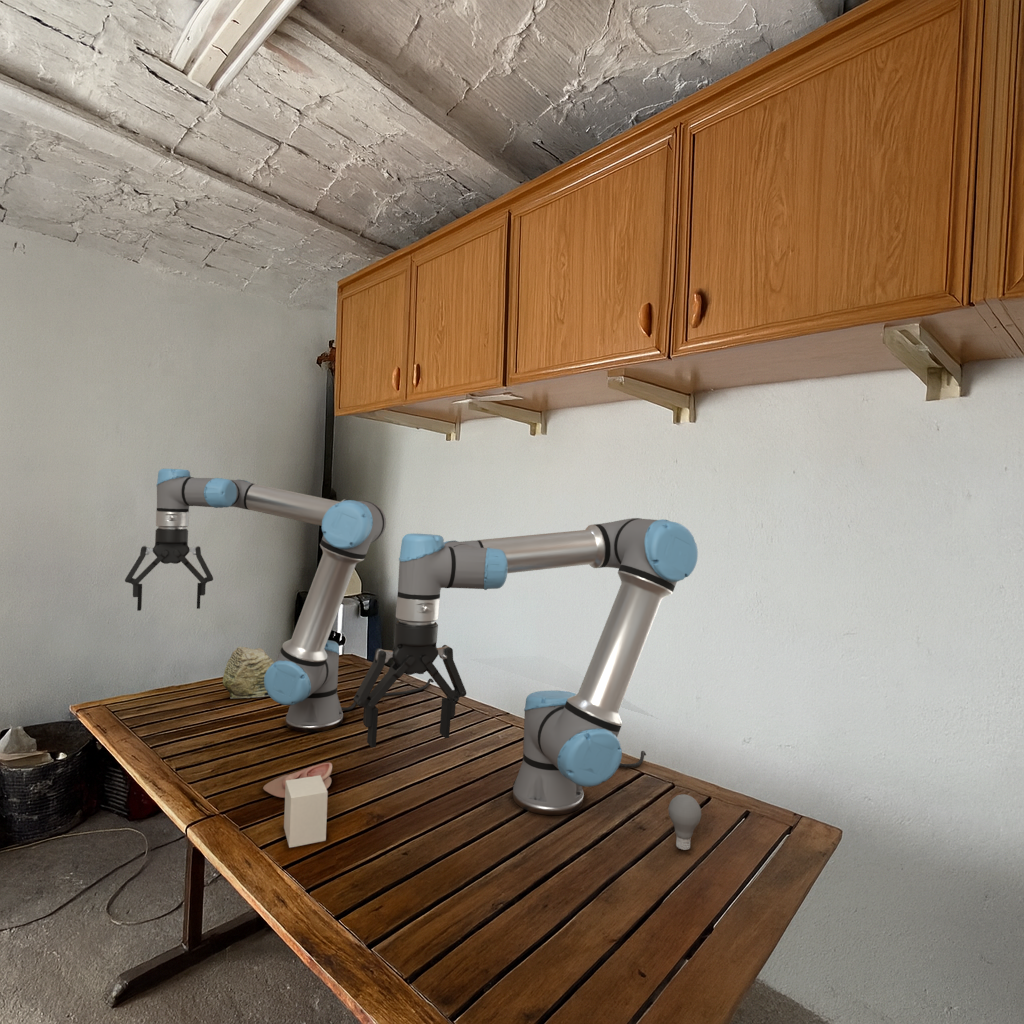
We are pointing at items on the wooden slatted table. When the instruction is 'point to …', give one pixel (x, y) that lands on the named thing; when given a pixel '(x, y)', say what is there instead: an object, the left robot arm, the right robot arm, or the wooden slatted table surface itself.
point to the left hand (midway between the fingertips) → (169, 608)
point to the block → (305, 811)
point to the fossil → (246, 673)
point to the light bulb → (684, 818)
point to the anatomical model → (279, 784)
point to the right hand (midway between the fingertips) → (408, 740)
